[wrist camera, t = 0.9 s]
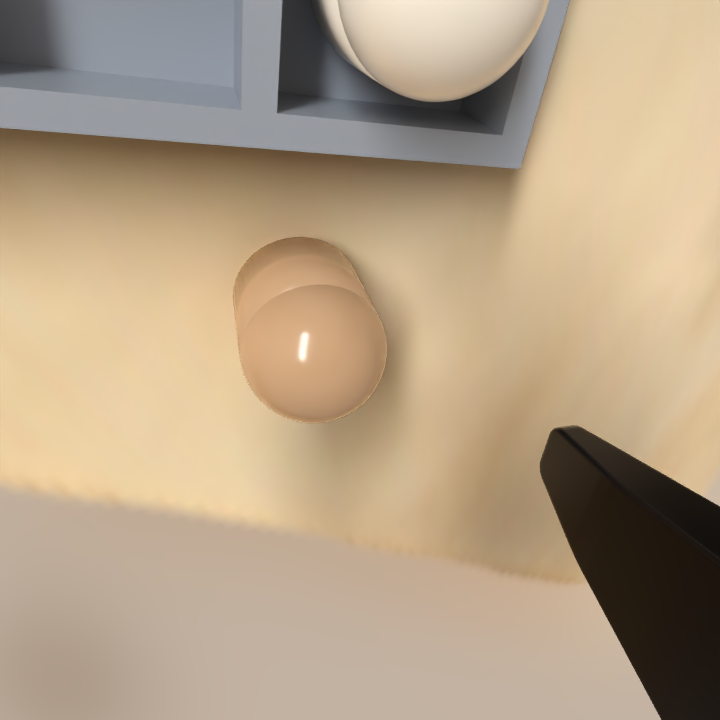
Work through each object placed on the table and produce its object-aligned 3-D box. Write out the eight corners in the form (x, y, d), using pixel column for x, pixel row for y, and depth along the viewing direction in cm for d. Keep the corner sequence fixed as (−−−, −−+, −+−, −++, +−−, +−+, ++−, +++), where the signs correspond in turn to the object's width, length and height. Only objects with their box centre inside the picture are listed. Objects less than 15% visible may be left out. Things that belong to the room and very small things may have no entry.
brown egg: (359, 227, 18) (419, 324, 13) (344, 333, 21) (391, 449, 16) (231, 222, 17) (247, 326, 12) (230, 334, 20) (243, 459, 15)
